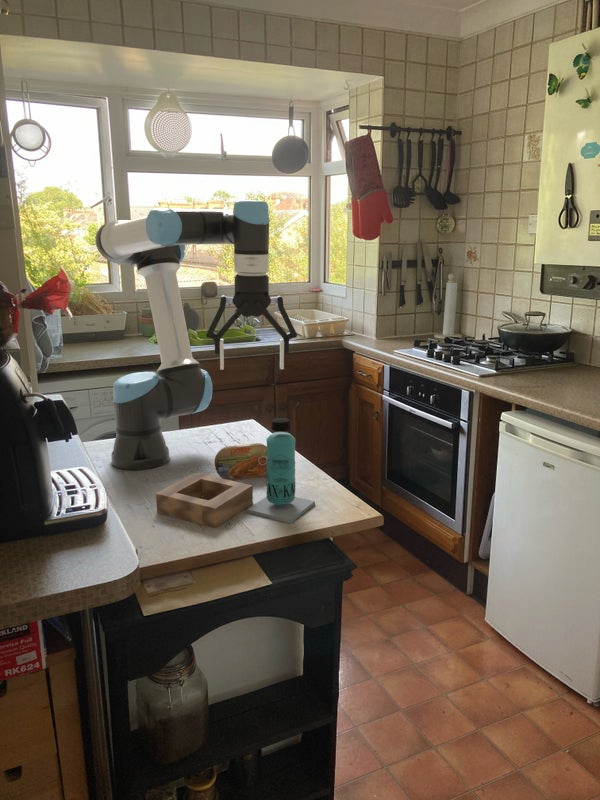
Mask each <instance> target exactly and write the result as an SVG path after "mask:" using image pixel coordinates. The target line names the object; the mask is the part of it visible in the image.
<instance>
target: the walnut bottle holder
mask: <svg viewBox="0 0 600 800" xmlns="http://www.w3.org/2000/svg"><path fill="white" fill-rule="evenodd" d="M253 487H254V486H253V485H252V484H248V483H244V482H240V481H236V480H226V479H223V478H222V477H218V476H212V475H208V474H203V473H198V472H195V473H193V474H190V475H189V476H187V477H185V478H183V479H181V480H180V481H178V482H176V483H173V484H172V485H169V486H168V487H166V488H164V489H161V490H160V491H158V492H155V498H156V499H155V500H156V512H157V513H158V514H162V515H165V516H169V517H172V518H177V519H181V520H183V521H187V522H192V523H195V524H198V525H203V526H205V527H209V528H213V529H217V528H219V527H220V526H222V525H223V524H225V523H227V521H229V520H231V519H232V518H233V517H235V516H237V515H238V514H240V513H241V512H243V511H244V510H247V509H248V508H250V507H251V506H253V505H254V502H253V500H254V496H253V495H254V492H253ZM203 498H204V499H203ZM208 499H209V500H208Z"/></svg>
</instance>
